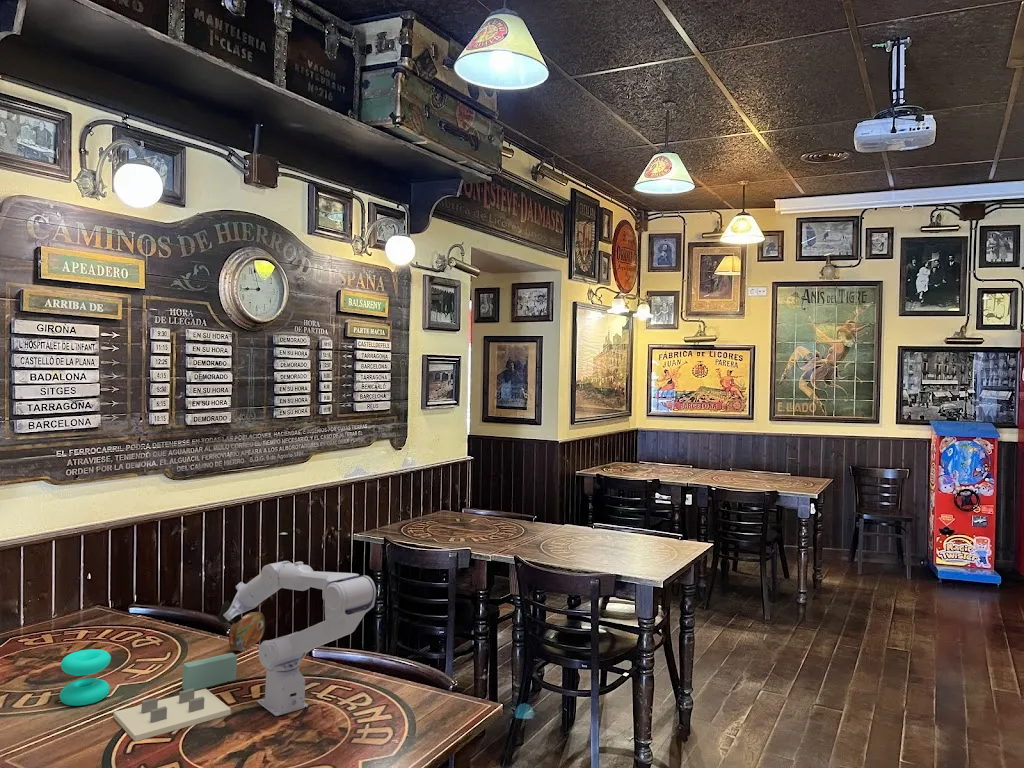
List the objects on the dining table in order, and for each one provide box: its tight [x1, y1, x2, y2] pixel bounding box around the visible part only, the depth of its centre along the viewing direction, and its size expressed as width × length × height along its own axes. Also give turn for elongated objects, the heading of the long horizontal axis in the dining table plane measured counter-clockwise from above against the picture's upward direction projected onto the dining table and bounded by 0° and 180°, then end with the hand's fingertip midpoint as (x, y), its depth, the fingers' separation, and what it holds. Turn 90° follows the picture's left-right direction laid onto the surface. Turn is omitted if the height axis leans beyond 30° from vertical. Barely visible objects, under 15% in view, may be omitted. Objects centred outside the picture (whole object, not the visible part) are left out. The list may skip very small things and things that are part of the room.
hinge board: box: [112, 688, 232, 742], centre depth 164 cm, size 14×20×4 cm
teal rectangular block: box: [181, 652, 238, 691], centre depth 182 cm, size 3×12×6 cm, turn 134°
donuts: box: [59, 648, 112, 707], centre depth 171 cm, size 10×10×10 cm
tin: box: [228, 611, 266, 652], centre depth 208 cm, size 15×3×8 cm, turn 168°
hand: (231, 609), depth 186 cm, fingers open, 7 cm apart
